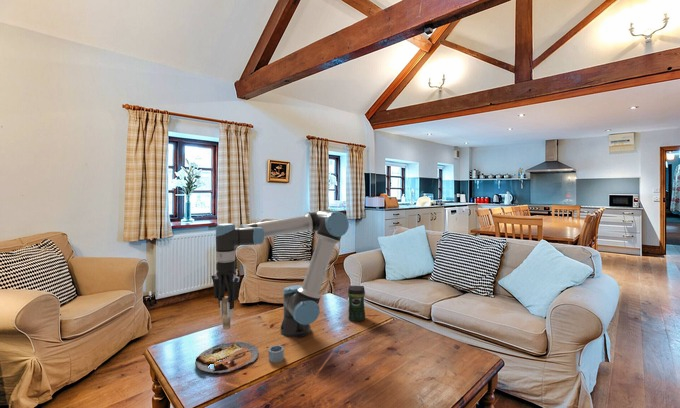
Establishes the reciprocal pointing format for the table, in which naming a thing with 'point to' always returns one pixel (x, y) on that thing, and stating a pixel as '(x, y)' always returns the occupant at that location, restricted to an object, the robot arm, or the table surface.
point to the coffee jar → (356, 303)
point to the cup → (276, 353)
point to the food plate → (223, 357)
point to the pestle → (225, 313)
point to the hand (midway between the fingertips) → (226, 315)
